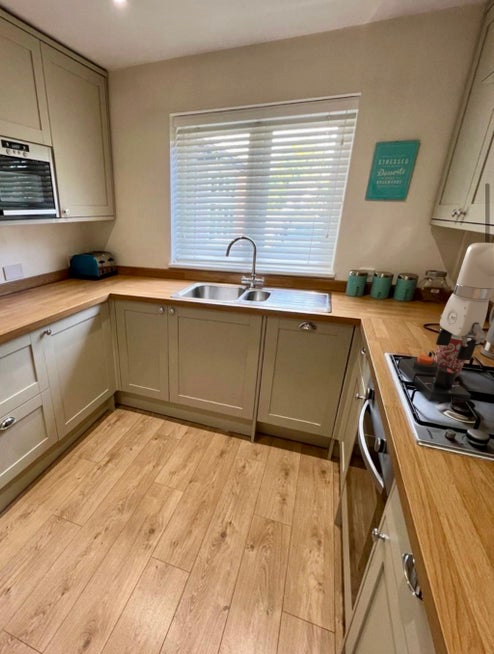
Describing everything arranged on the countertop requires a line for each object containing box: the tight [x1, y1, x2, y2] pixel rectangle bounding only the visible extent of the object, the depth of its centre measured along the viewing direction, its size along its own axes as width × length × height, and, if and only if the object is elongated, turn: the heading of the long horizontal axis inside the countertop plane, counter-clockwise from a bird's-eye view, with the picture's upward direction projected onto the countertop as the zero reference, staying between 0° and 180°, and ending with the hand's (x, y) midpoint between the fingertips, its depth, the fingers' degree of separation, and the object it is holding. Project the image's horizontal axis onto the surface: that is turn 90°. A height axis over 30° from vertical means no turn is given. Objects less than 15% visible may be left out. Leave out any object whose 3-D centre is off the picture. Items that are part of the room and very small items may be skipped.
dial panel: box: [412, 376, 472, 404], centre depth 96 cm, size 10×9×3 cm
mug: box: [433, 334, 471, 378], centre depth 107 cm, size 13×9×14 cm
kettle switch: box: [417, 354, 434, 365], centre depth 104 cm, size 4×4×2 cm
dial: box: [433, 366, 457, 389], centre depth 94 cm, size 4×4×5 cm
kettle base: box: [398, 356, 438, 383], centre depth 105 cm, size 9×10×5 cm
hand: (451, 351), depth 92 cm, fingers open, 9 cm apart
